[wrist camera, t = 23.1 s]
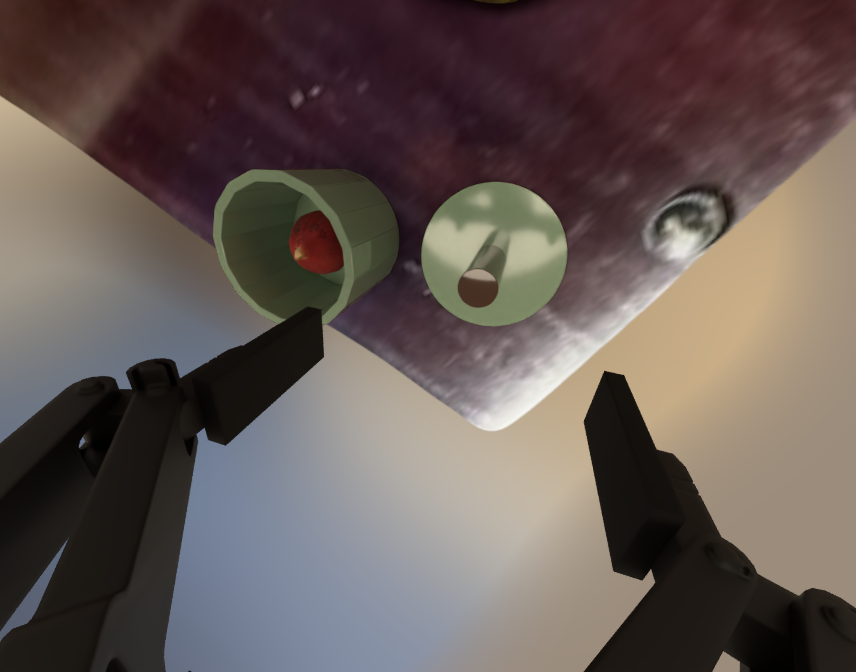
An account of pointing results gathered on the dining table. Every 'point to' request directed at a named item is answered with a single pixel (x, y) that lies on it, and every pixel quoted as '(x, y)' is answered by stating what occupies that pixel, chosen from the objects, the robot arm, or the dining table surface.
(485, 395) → the dining table surface
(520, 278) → the lid
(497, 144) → the dining table surface
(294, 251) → the onion
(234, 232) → the pot
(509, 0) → the potato
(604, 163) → the dining table surface
